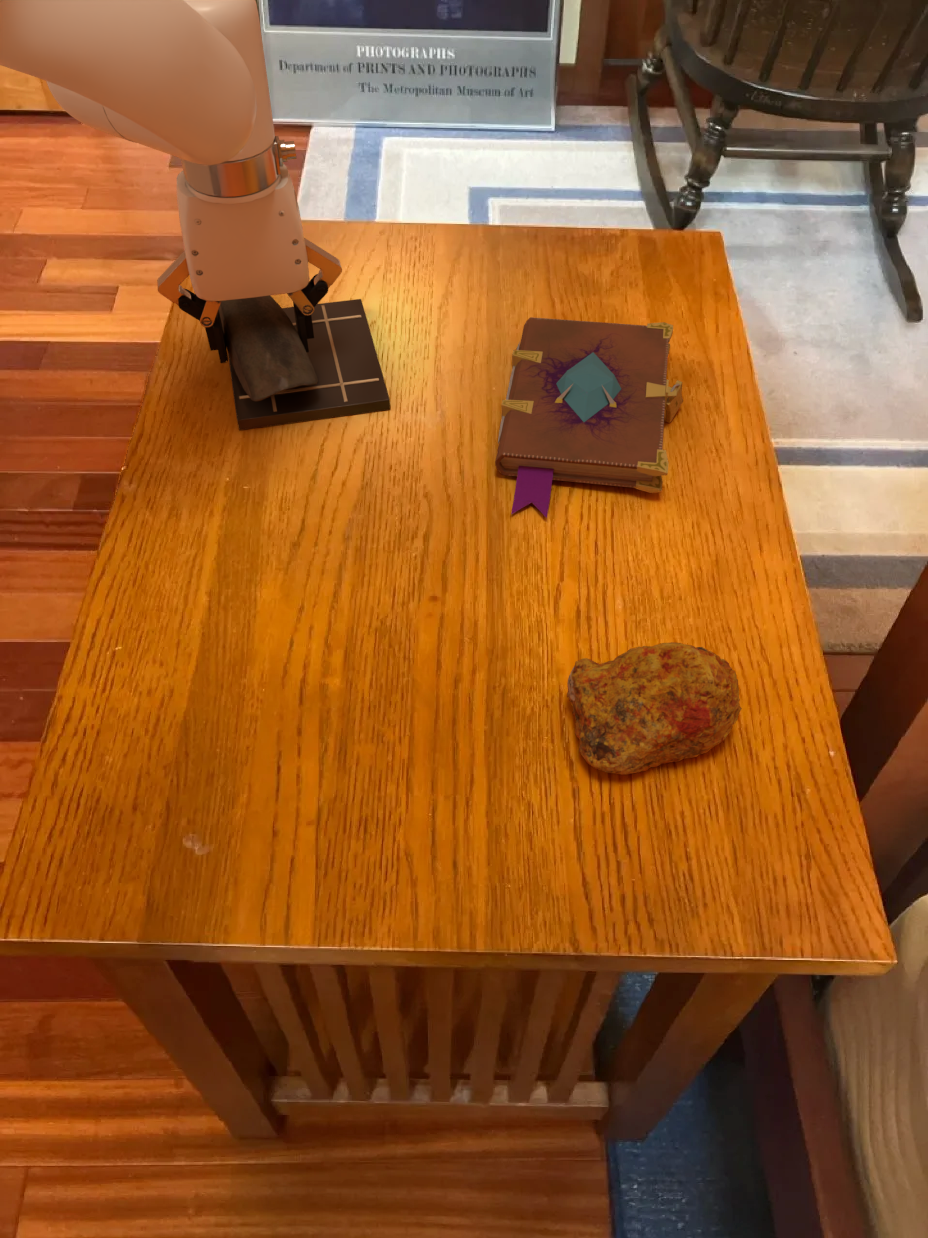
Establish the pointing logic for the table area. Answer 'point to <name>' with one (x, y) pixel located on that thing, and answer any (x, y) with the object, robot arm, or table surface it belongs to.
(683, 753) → the rock
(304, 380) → the decorative stone
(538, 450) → the book
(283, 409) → the board
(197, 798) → the table surface
